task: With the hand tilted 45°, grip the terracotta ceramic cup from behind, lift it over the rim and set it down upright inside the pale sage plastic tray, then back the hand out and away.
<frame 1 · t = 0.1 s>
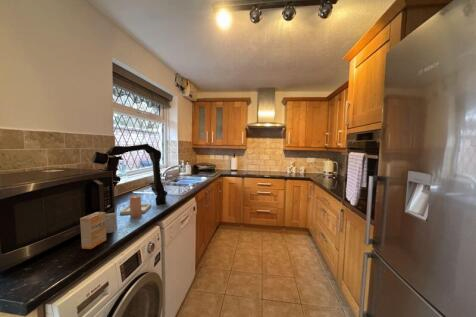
hand: (106, 191, 120), 15 cm above the table, tool pointing down, fingers open, 9 cm apart
supplement box: (94, 244, 86), on the table
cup: (136, 216, 120), on the table
medicine box: (107, 232, 99), on the table
tray: (136, 210, 132), on the table
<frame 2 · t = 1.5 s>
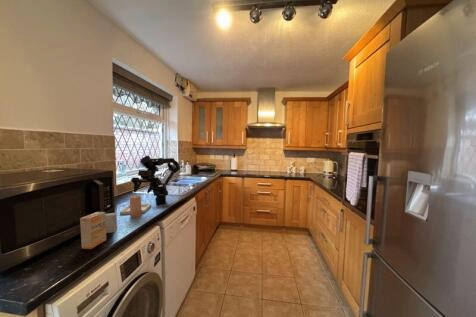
hand: (140, 192, 124), 13 cm above the table, tool tilted 45°, fingers open, 9 cm apart
nothing on the table moved.
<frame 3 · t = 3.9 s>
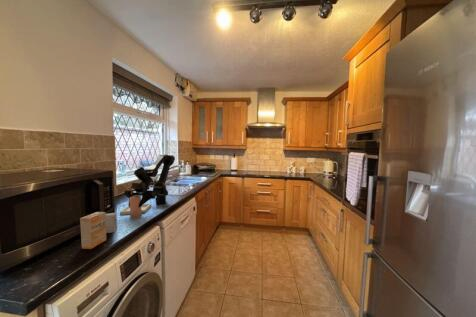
hand: (134, 206, 118), 7 cm above the table, tool tilted 45°, fingers closed on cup, 6 cm apart
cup: (136, 216, 120), on the table, touching gripper
everything else where it was.
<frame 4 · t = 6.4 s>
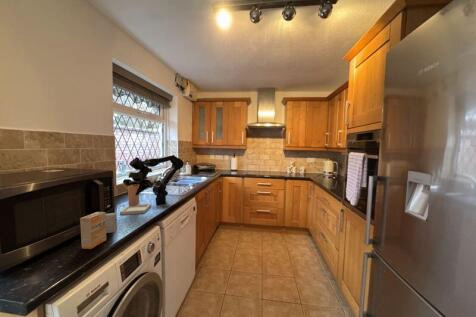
hand: (131, 195, 123), 12 cm above the table, tool tilted 45°, fingers closed on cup, 6 cm apart
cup: (134, 204, 125), point 6 cm above the table, touching gripper
everything else where it was.
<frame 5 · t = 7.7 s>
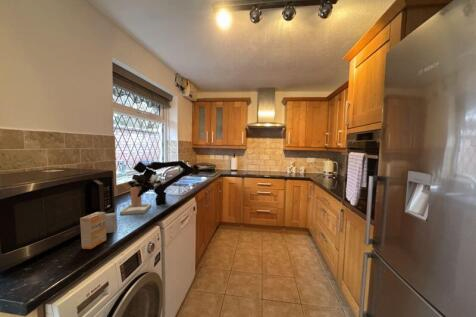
hand: (134, 196, 130), 10 cm above the table, tool tilted 45°, fingers closed on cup, 6 cm apart
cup: (136, 205, 132), point 3 cm above the table, touching gripper
everything else where it was.
when the fingers open (8 cm above the table, at t = 8.9 s): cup drops 1 cm, resting on tray.
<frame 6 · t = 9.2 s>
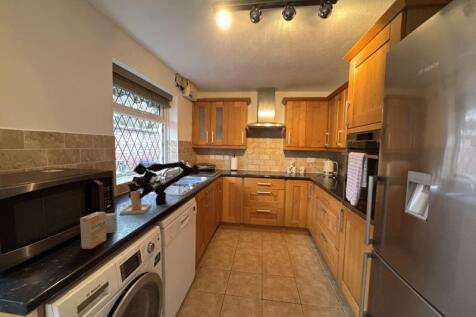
hand: (134, 198, 130), 9 cm above the table, tool tilted 45°, fingers open, 9 cm apart
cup: (136, 209, 132), point 1 cm above the table, touching tray
everything else where it was.
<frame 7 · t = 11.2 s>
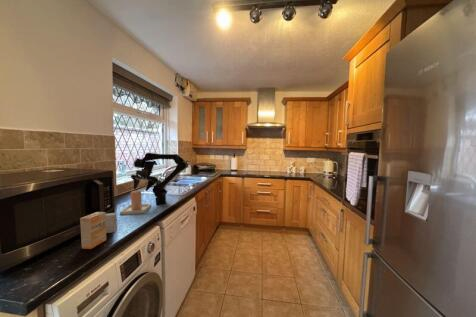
hand: (140, 189, 138), 12 cm above the table, tool tilted 30°, fingers open, 9 cm apart
nothing on the table moved.
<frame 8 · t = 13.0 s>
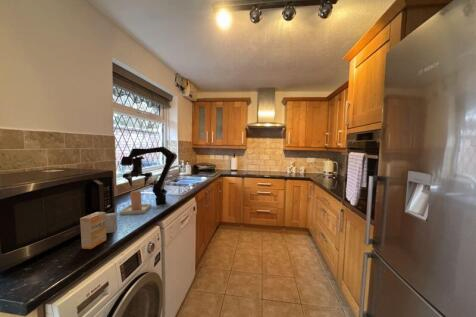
hand: (138, 186, 145), 13 cm above the table, tool pointing down, fingers open, 9 cm apart
nothing on the table moved.
at the end: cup inside the target area on the tray (0.1 cm from its centre), point 0.6 cm above the tray's base; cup tilted 1°; the gripper is holding nothing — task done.
